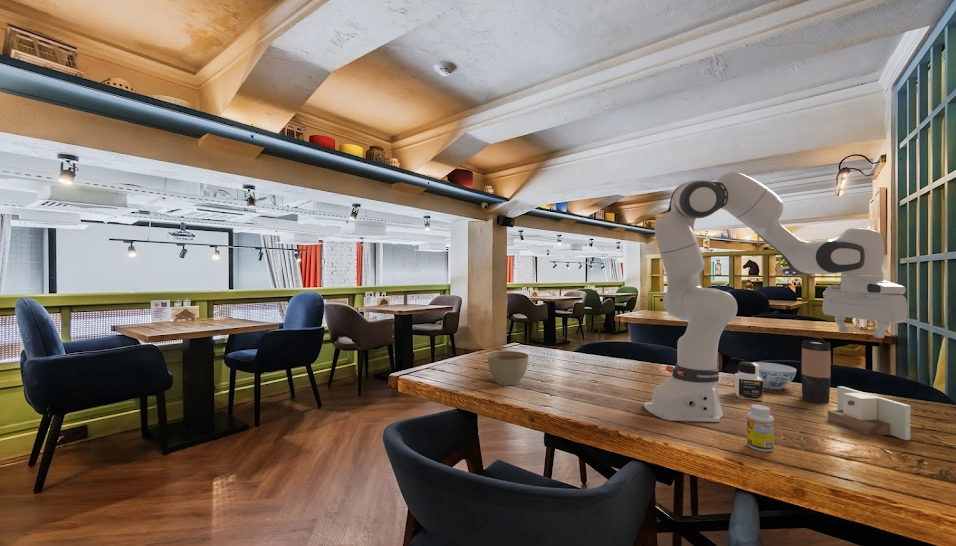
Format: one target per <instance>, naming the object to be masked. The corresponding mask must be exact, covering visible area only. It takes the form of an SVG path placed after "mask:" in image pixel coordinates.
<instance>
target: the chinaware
mask: <svg viewBox="0 0 956 546" xmlns="http://www.w3.org/2000/svg"><path fill="white" fill-rule="evenodd" d="M753 363H756V364H758V365H759V377H760V378H761V379H762V380H763V389H765V388H766V389H768V388H769V389H771V390H782V389H783V387H785V386H787V385H789V384H790V383H791V382H793V380H794V378H795V377H796V373H797V368H795V367H793V366H790V365H785V364H781V363H780V364H779V363H773V362H759V361H758V362H755V361H754V362H753ZM769 389H768V390H769Z"/></svg>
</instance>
